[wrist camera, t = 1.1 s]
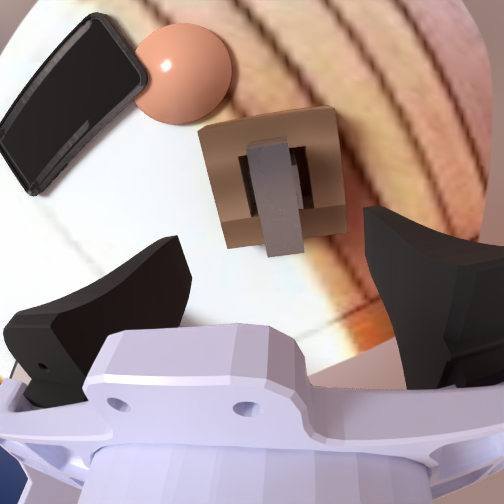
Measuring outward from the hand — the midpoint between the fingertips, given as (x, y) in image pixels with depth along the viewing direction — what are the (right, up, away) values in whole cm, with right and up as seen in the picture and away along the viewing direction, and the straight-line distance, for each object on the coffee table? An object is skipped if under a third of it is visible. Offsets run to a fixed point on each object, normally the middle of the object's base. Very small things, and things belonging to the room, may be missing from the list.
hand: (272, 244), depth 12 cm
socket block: (+1, +5, +9) cm, 10 cm away
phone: (-15, +11, +8) cm, 20 cm away
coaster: (-6, +11, +6) cm, 14 cm away
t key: (+1, +5, +9) cm, 10 cm away
